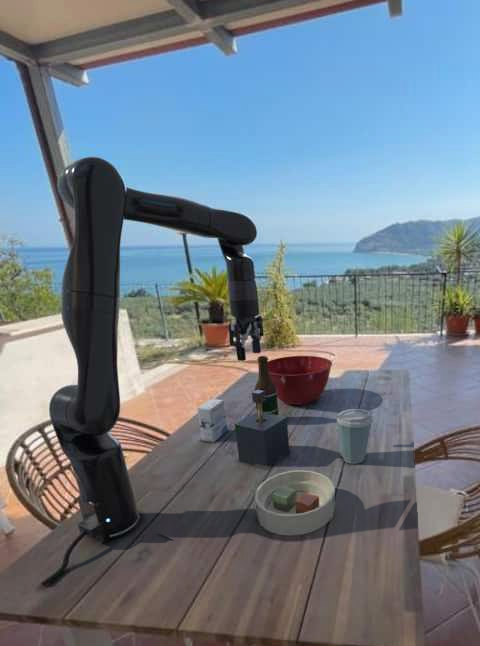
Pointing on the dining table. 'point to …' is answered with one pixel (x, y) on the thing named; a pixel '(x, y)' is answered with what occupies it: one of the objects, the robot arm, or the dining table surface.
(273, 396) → the beer bottle
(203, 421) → the ink box
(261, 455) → the stick stand
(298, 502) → the terracotta block
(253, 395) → the stirring stick
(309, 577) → the dining table surface
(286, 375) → the mixing bowl
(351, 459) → the disposable coffee cup
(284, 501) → the sage block
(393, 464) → the dining table surface
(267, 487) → the bowl
